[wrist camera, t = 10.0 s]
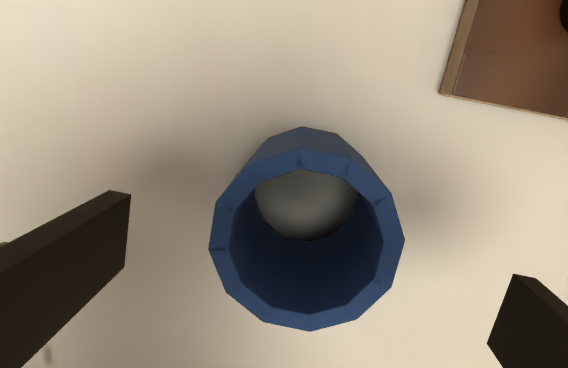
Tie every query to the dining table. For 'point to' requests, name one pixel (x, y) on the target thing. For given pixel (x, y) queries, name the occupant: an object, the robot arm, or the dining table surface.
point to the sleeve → (300, 254)
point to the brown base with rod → (511, 56)
